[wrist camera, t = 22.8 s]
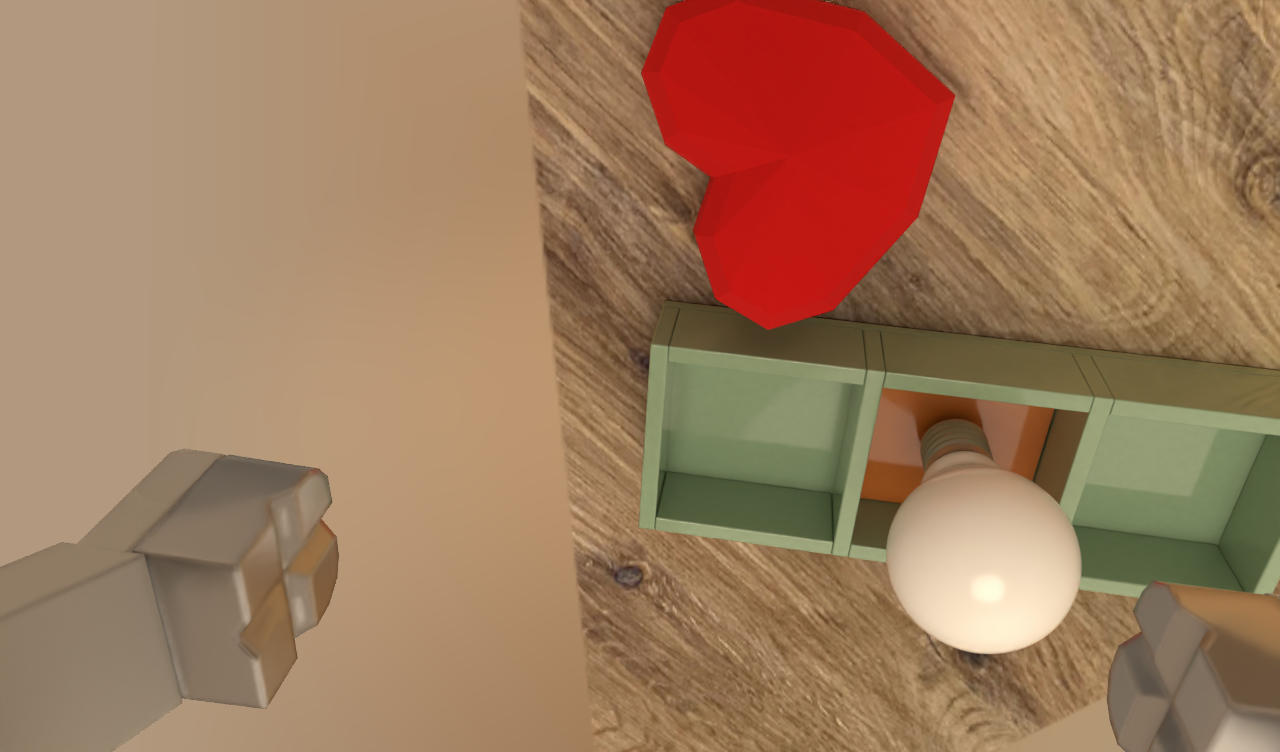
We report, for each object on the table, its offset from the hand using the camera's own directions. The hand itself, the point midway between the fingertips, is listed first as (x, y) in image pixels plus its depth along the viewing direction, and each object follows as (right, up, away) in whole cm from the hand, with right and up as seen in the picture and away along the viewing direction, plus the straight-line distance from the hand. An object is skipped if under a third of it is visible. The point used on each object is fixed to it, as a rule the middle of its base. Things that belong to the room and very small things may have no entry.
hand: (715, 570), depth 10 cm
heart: (+6, +11, +26) cm, 29 cm away
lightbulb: (+12, -1, +31) cm, 33 cm away
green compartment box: (+12, 0, +31) cm, 33 cm away
